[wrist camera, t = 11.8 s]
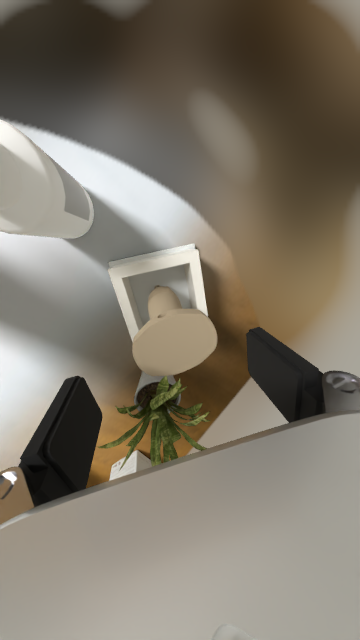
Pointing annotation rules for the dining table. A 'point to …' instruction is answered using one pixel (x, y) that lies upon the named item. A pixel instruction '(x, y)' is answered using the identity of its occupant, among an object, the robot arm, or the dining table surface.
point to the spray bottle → (38, 191)
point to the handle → (172, 336)
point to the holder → (157, 282)
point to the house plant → (159, 417)
